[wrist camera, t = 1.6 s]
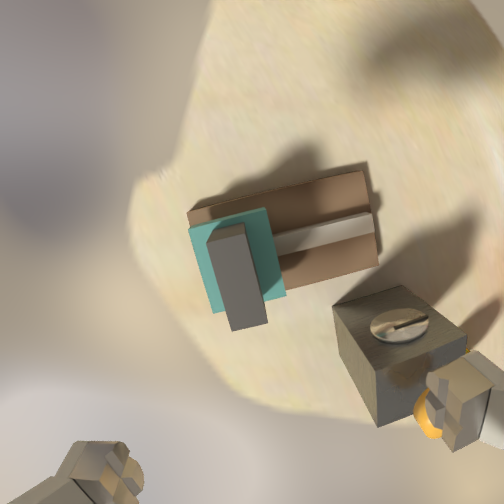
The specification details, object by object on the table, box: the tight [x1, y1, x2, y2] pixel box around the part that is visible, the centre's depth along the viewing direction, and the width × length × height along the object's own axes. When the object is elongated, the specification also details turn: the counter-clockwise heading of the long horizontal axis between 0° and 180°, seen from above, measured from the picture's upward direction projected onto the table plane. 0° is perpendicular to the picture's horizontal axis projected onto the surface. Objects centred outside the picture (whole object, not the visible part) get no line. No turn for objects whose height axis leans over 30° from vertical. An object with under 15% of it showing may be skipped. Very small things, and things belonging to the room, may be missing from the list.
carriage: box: [188, 207, 286, 331], centre depth 24 cm, size 7×6×8 cm
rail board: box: [187, 171, 379, 291], centre depth 28 cm, size 9×16×3 cm, turn 104°
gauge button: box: [413, 388, 443, 439], centre depth 17 cm, size 4×4×2 cm
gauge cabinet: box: [332, 285, 467, 428], centre depth 26 cm, size 7×8×12 cm
